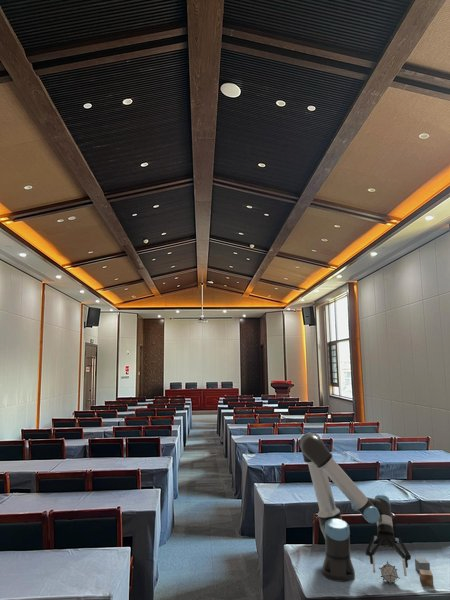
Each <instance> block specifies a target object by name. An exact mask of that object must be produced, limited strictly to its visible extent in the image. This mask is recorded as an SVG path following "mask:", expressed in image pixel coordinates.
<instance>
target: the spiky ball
mask: <svg viewBox="0 0 450 600" xmlns="http://www.w3.org/2000/svg"><path fill="white" fill-rule="evenodd" d="M378 569H379V570H380V573H381V576H380V578H382V581H386V582H387V583H389V586H392V583H393V582H396V580H397V579H400V577H399V575H398V569H397V568H396V565H394V566H393V565H391V563H389V562H388V561H386V564H383V566H382V567H378Z"/></svg>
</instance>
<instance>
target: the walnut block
mask: <svg viewBox="0 0 450 600" xmlns="http://www.w3.org/2000/svg"><path fill="white" fill-rule="evenodd" d="M418 574H419V582H420V585H421V586H422V587H428V588H429V587H430V588H434V575H433V573H432V571H431V569H430V570H421V569H419V572H418Z"/></svg>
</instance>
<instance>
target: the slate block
mask: <svg viewBox="0 0 450 600" xmlns="http://www.w3.org/2000/svg"><path fill="white" fill-rule="evenodd" d="M414 565H415V566H414V567H415V570H416V571H417V572H418V573H419V569H421V570H430V571H431V567H430V566H431V565H430V562H429V561H428V560H427V559H426V558H425V557H424V558H423V557H422V558H417V557H416V558H414Z"/></svg>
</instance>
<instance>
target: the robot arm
mask: <svg viewBox="0 0 450 600" xmlns="http://www.w3.org/2000/svg"><path fill="white" fill-rule="evenodd" d="M298 443H299V448H300V450H301V454H302V457H303V462H304V463H306V464H307V465H308V470H309V474H310V478H311V482H312V484H313V485H312V486H313V489H314V492H315V493H314V494H315V497H316V502H317V505H318V512H317V517H318V521H319V528H320V531H321V533H322V535H323V538H324V540H325V541H324V543H325V556H324V560H323V564H322V569H321V570H322V575H323V576H324V577H325V578H327V579H328V580H331V581H335V582H349V581H352V580H354V578H355V577H356V575H355V568H354V566H353V562H352V559H351V539H350V538H351V537H350V535H351V530H350V525H349V524H348V523H347V521H345V520H343V519H342V515H341V510H340V509H339V508H338V507H337V506H336V502H335V499H334V495H333V491H332V487H331V483H330V480H331V481H332V482H333V484H335V486H336V488H338V489H339V490H340V492H341V493H342V494H343V495H344V496H345V498H347V500H348V501H349V502H350V503H351V508H352V510H353V511H356V512H358V513H360V515H361V516H362V517H363V518H364V520H365V521H366V522H368V523H369V524H376V526H377V529H376V530H377V535H375V534H371V539H370V542H369V544H368V545H367V548H366V549H365V556H369V562H370V564H371V565H372V573H376V563H375V554H376V553H377V552H378V550H379V549H380V548H381V547H383V548H391V549H393V550H395V551H396V553H397V554H398V555H399V556H400V558H402V565H403V566H402V567H403V575H404V577H406V576H407V575H408V573H407V568H409V562H408V561H411V559H412V556H411V554H410V551H408V550H407V548H406V546H405V544H404V542H403V540H402V537H400V536H399V537H395V533H394V528H393V527H394V525H393V517H392V509H391V508H392V507H391V506H392V505H391V501H390V499H389V497H388V496H386V495H384V494H377V495H376V496H374V498H373V497H368V496H366V495H365V494H364V492H363V491H362V490H361V489H360V488H359V487H358V485H356V483H355V482H354V481H353V480H352V479H351V478H350V476H348V474H347V473H346V472H345V471H344V469H343V468H342V467H341V466H340V465H339V464H338V463H337V461H336V460H335V459H334V455H333V454H332V453H331V452H330V450H329V449H328V447H327V446H326V445H325V443H324V440H322V439H321V437H320V436H319V435H318V434H316V433H314V432H306V433H304V434H303V435H302V436H301V437H300V440H299V442H298ZM376 540H377V541H378V542H377V543H376V545H375V546H374V547H373V545H374V544H375V543H374V542H375V541H376ZM395 542H396V543H395ZM397 544H399V546H398V545H397ZM372 547H373V549H372ZM400 548H401V549H400Z"/></svg>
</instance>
